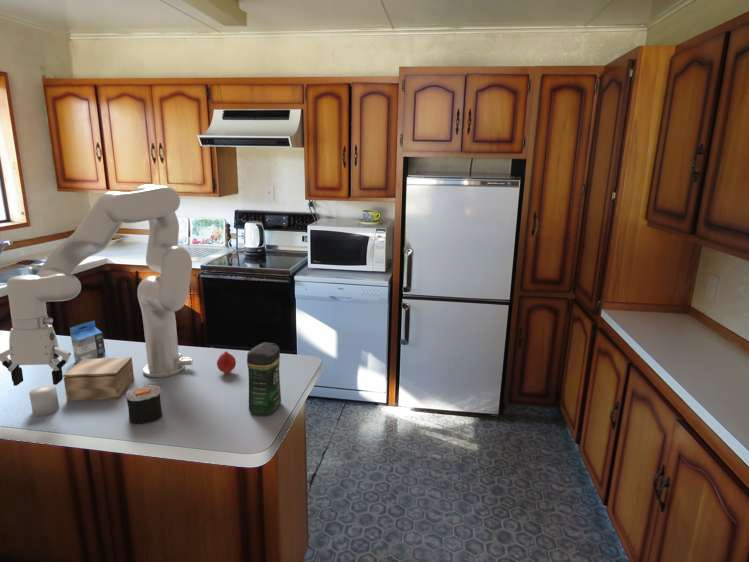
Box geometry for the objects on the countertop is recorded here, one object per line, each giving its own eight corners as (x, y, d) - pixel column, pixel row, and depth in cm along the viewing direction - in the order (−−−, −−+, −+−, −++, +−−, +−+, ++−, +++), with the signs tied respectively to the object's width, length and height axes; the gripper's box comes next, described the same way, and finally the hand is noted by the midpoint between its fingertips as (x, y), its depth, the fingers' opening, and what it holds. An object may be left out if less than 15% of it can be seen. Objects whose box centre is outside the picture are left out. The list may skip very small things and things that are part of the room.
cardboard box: (134, 379, 146) (131, 359, 145) (119, 398, 135) (116, 376, 133) (86, 381, 145) (83, 360, 143) (67, 400, 133) (63, 378, 131)
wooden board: (131, 359, 145) (131, 357, 145) (116, 375, 133) (115, 373, 133) (83, 360, 143) (83, 358, 143) (63, 376, 131) (63, 374, 131)
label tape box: (81, 363, 157) (76, 329, 154) (74, 361, 159) (69, 327, 156) (106, 354, 165) (101, 321, 162) (98, 352, 167) (94, 320, 164)
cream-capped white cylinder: (63, 404, 131) (60, 384, 130) (52, 415, 125) (48, 395, 124) (40, 405, 130) (37, 385, 129) (27, 416, 125) (24, 396, 123)
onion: (213, 375, 150) (212, 352, 148) (225, 368, 156) (224, 346, 154) (228, 378, 148) (227, 355, 146) (240, 371, 154) (238, 349, 152)
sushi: (165, 419, 125) (162, 392, 123) (130, 427, 120) (127, 399, 118) (160, 406, 131) (157, 380, 129) (127, 413, 127) (124, 387, 125)
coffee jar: (272, 418, 126) (270, 354, 122) (245, 415, 127) (241, 351, 123) (285, 401, 135) (283, 341, 131) (259, 398, 137) (257, 338, 132)
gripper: (73, 318, 126) (79, 376, 130) (3, 318, 124) (11, 377, 128) (58, 326, 119) (65, 388, 123) (-16, 327, 117) (-7, 390, 120)
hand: (38, 383), depth 125 cm, fingers open, 9 cm apart
